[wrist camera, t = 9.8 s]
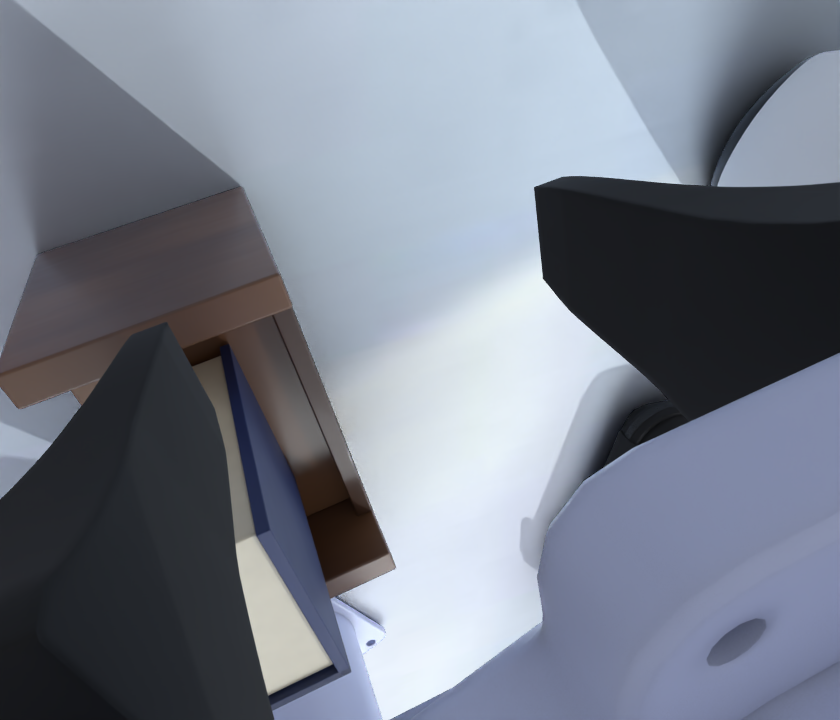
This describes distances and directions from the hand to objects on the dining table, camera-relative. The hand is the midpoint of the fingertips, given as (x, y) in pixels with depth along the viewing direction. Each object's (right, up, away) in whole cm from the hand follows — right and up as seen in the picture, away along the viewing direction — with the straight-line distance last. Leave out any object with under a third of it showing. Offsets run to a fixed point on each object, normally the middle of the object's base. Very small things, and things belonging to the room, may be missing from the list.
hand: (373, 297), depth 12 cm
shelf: (-7, -1, +11) cm, 13 cm away
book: (-5, -4, +8) cm, 10 cm away
